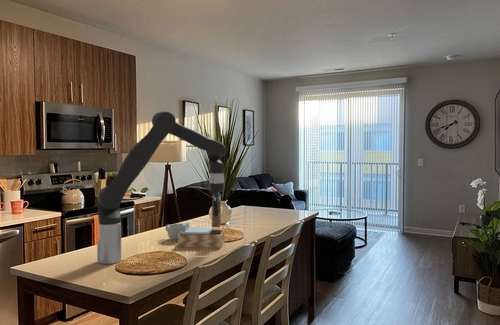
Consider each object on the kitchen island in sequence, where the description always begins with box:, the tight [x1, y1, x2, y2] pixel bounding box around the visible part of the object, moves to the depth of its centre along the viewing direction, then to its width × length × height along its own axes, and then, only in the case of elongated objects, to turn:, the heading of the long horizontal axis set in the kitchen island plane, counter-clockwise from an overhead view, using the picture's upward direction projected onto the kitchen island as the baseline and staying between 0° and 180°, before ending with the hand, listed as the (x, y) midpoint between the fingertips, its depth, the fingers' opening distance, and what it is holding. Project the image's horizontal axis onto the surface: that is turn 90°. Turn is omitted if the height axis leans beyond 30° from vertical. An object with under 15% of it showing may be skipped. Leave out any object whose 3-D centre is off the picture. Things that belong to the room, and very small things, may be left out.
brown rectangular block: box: [211, 198, 222, 228], centre depth 192 cm, size 4×4×14 cm
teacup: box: [165, 222, 184, 242], centre depth 207 cm, size 14×11×8 cm
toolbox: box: [177, 228, 226, 249], centre depth 193 cm, size 22×13×7 cm, turn 87°
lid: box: [180, 221, 214, 234], centre depth 193 cm, size 15×13×4 cm
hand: (216, 214), depth 192 cm, fingers closed on brown rectangular block, 4 cm apart
